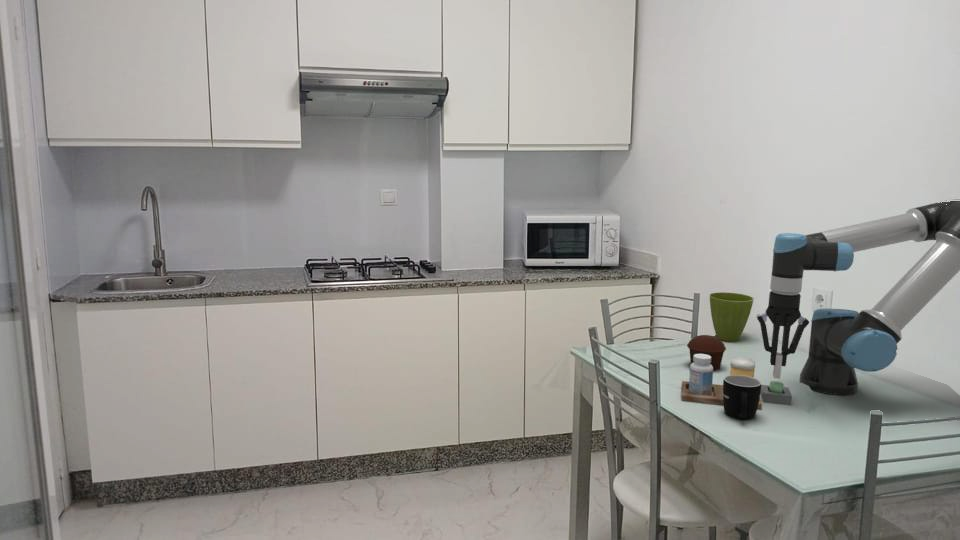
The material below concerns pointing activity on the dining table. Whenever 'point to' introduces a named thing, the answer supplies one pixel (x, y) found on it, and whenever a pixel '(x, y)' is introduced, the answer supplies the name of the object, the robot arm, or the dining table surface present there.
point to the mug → (741, 396)
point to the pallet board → (713, 399)
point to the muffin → (707, 349)
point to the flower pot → (730, 314)
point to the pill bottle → (701, 375)
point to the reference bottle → (742, 366)
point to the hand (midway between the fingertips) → (776, 376)
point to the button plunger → (776, 387)
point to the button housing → (776, 396)
